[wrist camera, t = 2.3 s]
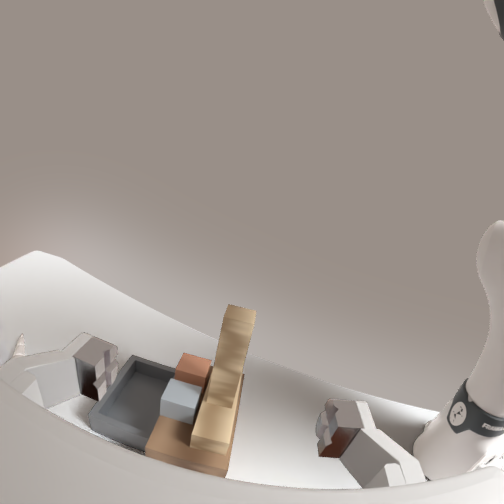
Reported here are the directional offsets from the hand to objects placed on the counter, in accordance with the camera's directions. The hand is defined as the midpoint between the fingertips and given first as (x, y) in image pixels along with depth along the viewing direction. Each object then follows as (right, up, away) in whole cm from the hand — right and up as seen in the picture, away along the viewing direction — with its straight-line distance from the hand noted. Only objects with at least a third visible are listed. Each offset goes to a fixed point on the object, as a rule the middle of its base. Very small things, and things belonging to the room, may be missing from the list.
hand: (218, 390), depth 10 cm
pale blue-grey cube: (-8, -14, +22) cm, 27 cm away
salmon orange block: (-7, -13, +28) cm, 31 cm away
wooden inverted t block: (-3, -15, +23) cm, 28 cm away
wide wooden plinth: (-6, -20, +25) cm, 32 cm away
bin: (-15, -18, +26) cm, 35 cm away
